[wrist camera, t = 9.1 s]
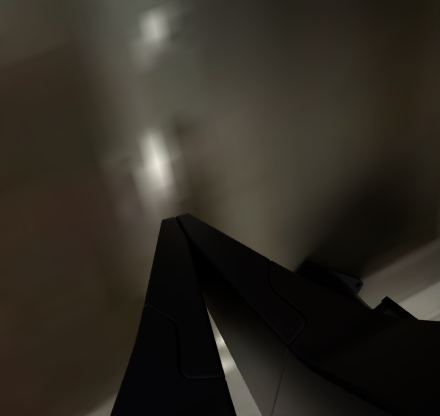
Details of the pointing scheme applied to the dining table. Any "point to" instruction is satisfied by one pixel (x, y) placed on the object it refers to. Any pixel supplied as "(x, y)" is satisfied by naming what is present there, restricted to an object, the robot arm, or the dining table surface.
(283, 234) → the dining table surface
